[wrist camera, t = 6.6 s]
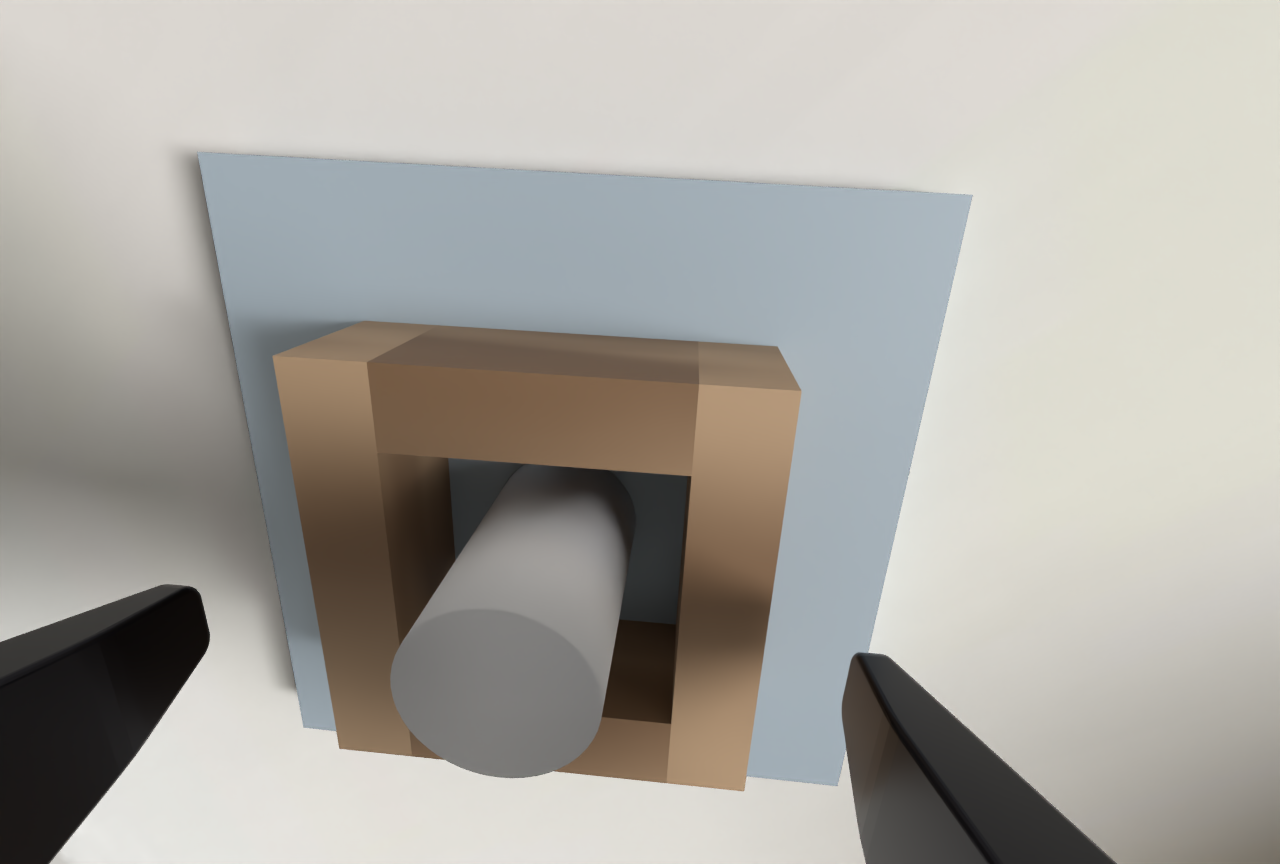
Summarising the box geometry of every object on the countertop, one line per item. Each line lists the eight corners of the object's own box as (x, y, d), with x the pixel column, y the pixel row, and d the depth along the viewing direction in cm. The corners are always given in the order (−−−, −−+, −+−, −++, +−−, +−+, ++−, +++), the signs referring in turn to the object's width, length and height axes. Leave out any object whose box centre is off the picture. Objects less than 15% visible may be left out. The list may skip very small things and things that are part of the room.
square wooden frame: (734, 682, 13) (744, 791, 10) (402, 650, 13) (339, 748, 11) (777, 346, 10) (801, 391, 8) (364, 320, 11) (272, 355, 8)
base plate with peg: (828, 747, 14) (901, 1052, 9) (327, 694, 15) (140, 950, 10) (947, 195, 10) (1203, 194, 5) (240, 155, 11) (-167, 120, 6)
